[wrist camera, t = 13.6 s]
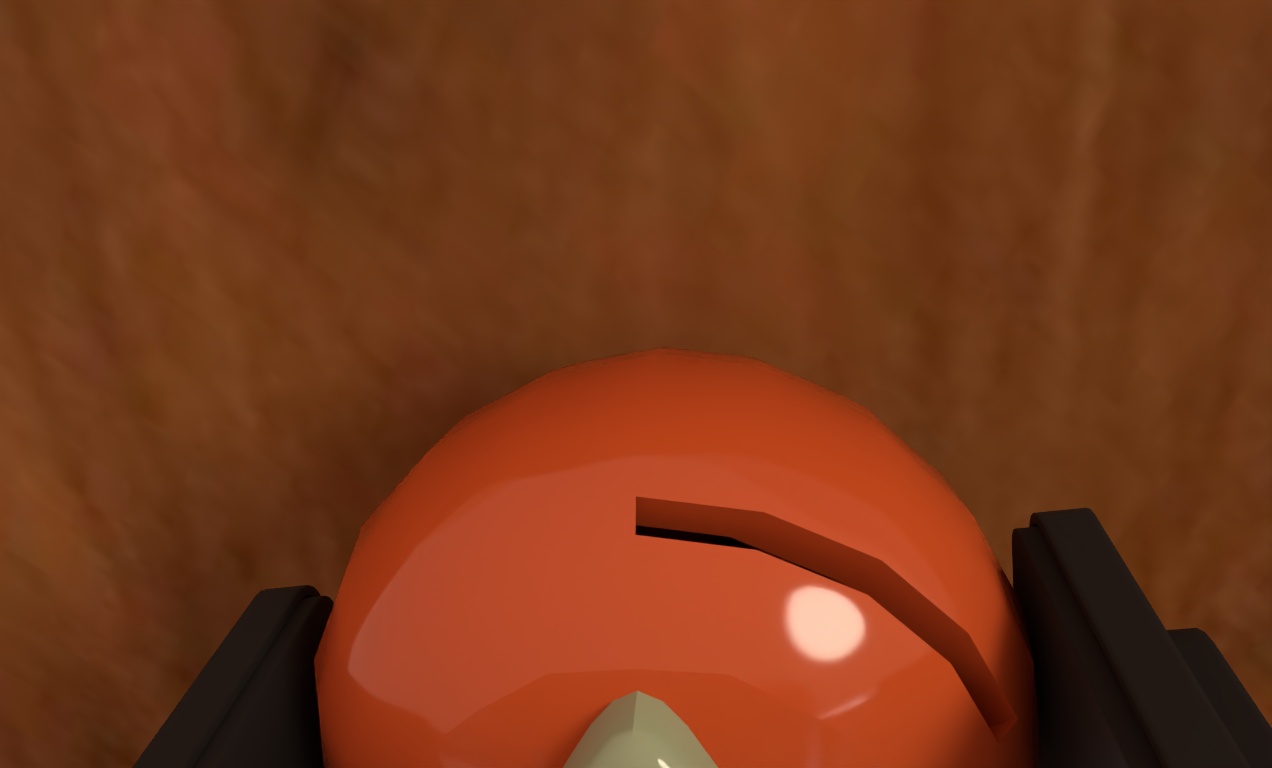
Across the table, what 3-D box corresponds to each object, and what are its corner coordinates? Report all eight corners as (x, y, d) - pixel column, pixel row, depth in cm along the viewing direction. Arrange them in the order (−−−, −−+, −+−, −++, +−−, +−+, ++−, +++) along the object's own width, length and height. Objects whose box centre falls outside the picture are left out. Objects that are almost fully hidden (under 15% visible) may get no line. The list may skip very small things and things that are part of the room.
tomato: (1073, 447, 13) (1501, 1100, 6) (752, 778, 16) (768, 1481, 9) (596, 141, 12) (379, 470, 5) (346, 557, 15) (-23, 1155, 8)
